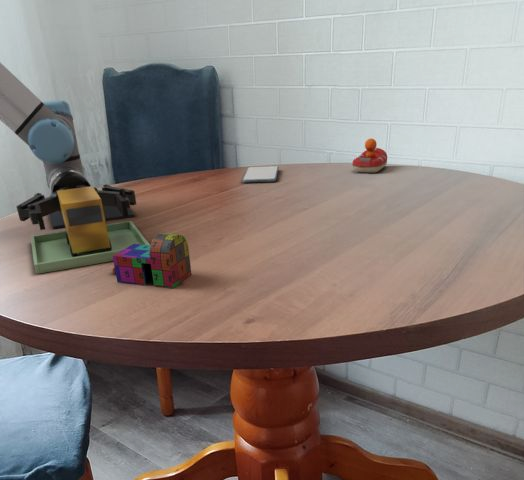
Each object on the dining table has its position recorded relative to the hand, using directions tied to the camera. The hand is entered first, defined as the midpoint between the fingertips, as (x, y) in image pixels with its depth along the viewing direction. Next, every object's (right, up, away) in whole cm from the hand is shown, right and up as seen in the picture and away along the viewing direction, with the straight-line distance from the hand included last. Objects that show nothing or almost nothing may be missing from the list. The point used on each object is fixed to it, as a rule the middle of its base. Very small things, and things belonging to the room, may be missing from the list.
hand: (84, 215), depth 89 cm
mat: (-7, +6, +25) cm, 26 cm away
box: (0, -5, +4) cm, 6 cm away
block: (+13, -11, -8) cm, 19 cm away
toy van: (0, -5, +4) cm, 6 cm away
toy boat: (+58, +25, +51) cm, 81 cm away
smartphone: (+29, +23, +50) cm, 62 cm away
